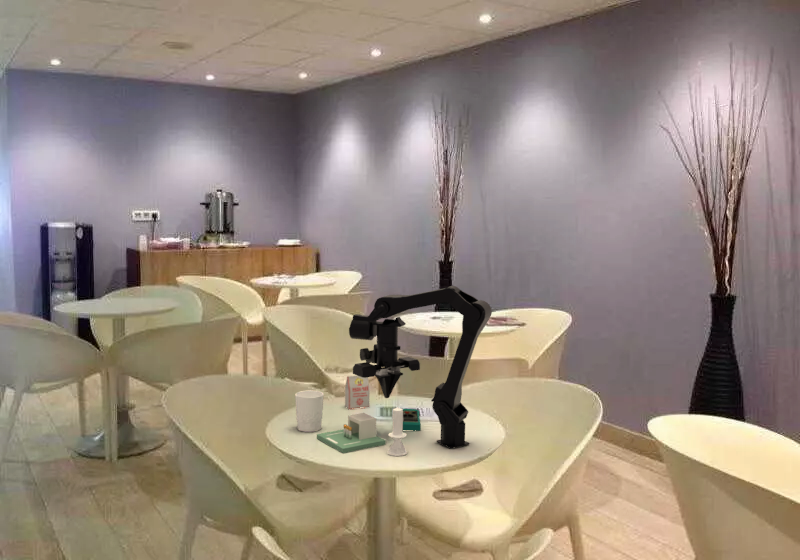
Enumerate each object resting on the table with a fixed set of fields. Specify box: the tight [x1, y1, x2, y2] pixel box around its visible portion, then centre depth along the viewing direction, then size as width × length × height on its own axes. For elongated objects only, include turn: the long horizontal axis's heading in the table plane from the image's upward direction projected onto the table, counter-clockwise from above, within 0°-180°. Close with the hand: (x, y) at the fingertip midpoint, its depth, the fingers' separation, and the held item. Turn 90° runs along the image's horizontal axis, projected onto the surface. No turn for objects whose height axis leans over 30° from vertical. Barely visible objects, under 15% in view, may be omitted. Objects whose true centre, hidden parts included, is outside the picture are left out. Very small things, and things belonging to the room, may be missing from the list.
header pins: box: [343, 423, 352, 440], centre depth 198 cm, size 3×1×3 cm, turn 35°
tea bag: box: [344, 375, 371, 410], centre depth 232 cm, size 4×7×10 cm, turn 112°
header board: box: [316, 428, 387, 454], centre depth 199 cm, size 14×13×1 cm
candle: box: [386, 407, 409, 457], centre depth 190 cm, size 5×5×12 cm
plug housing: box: [347, 412, 377, 440], centre depth 201 cm, size 6×5×5 cm
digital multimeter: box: [402, 408, 422, 432], centre depth 216 cm, size 7×15×3 cm, turn 0°
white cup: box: [294, 389, 325, 433], centre depth 209 cm, size 8×8×10 cm
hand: (386, 397), depth 204 cm, fingers closed
